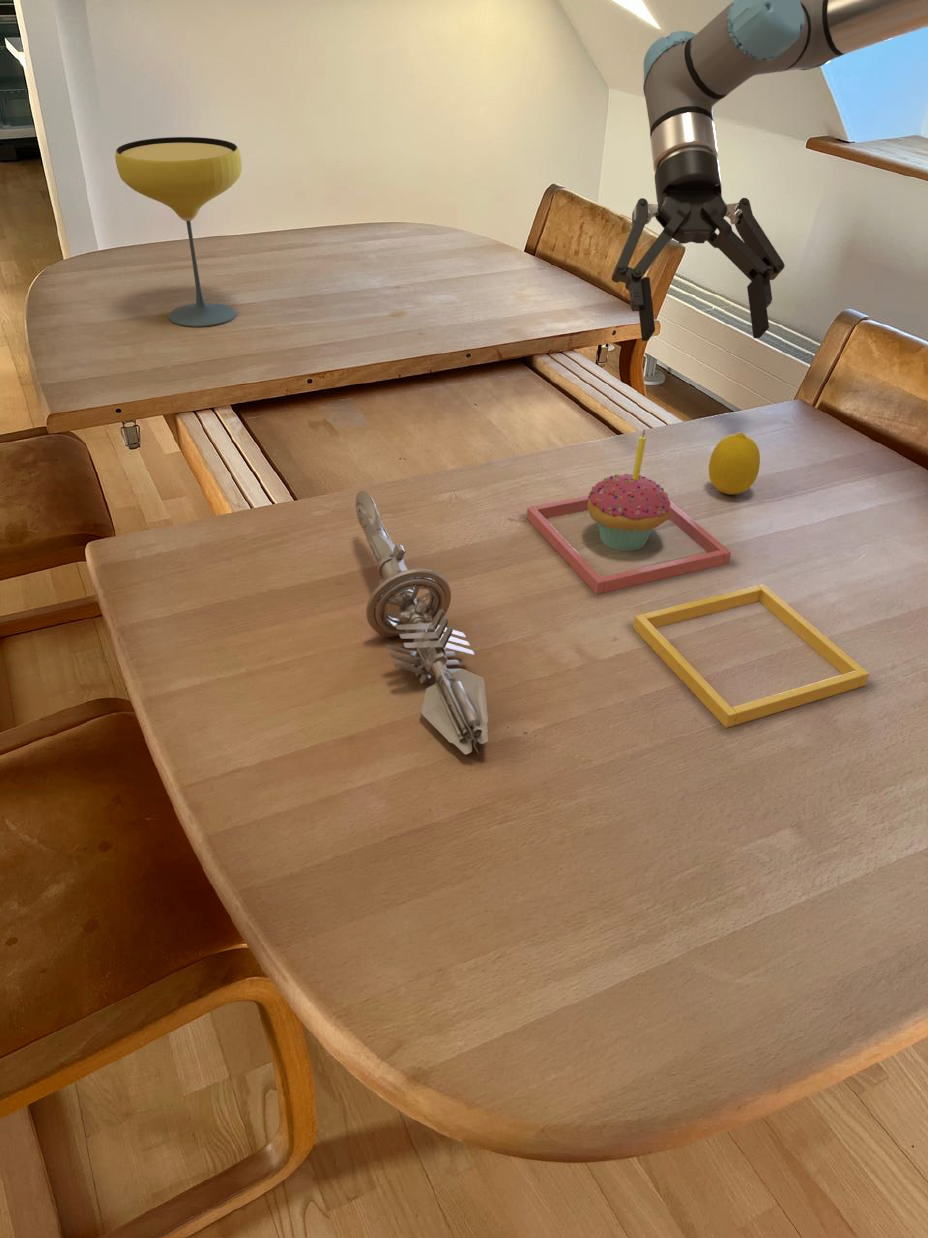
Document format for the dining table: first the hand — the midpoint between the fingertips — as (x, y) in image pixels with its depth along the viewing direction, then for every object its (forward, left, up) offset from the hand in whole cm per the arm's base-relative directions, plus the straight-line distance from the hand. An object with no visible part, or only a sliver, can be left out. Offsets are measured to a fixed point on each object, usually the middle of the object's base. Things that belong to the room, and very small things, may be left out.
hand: (705, 334), depth 109 cm
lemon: (+1, +11, -15) cm, 19 cm away
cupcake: (+18, +16, -15) cm, 29 cm away
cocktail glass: (+47, -70, -15) cm, 86 cm away
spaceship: (+45, +23, -15) cm, 53 cm away
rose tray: (+18, +16, -15) cm, 29 cm away
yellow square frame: (+18, +37, -15) cm, 44 cm away
